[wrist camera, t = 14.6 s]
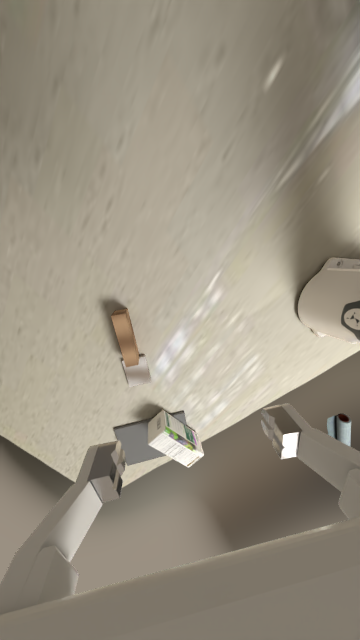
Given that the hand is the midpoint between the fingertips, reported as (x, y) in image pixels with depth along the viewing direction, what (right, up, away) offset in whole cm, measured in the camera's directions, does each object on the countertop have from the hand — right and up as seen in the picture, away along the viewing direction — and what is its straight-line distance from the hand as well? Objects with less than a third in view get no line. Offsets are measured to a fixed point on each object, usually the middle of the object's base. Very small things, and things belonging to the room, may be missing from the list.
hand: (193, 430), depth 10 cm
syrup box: (-7, -19, +31) cm, 37 cm away
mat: (-8, -26, +37) cm, 46 cm away
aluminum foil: (+55, -36, +51) cm, 83 cm away
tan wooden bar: (-11, -1, +28) cm, 30 cm away
